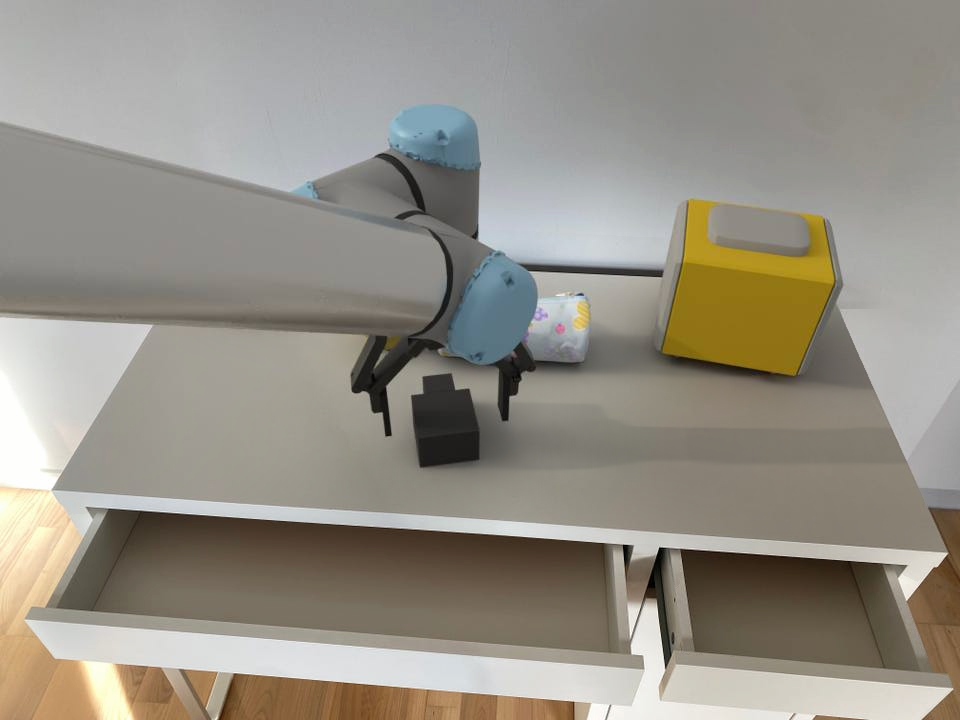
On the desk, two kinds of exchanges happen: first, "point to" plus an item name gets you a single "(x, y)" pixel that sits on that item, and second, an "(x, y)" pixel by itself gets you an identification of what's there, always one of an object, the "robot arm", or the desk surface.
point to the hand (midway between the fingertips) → (446, 420)
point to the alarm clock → (747, 286)
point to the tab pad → (444, 422)
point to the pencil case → (557, 329)
